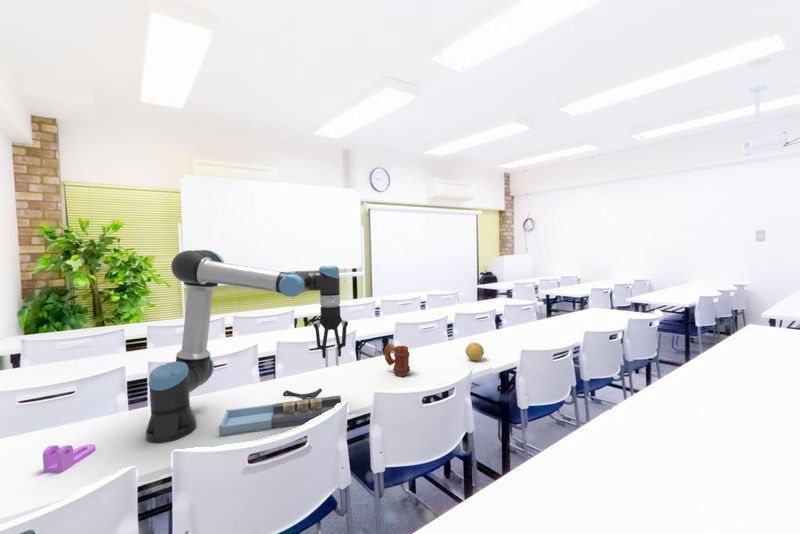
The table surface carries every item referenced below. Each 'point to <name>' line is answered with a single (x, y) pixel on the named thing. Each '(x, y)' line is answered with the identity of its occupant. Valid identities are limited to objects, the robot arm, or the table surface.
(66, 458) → the bracket
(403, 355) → the mug
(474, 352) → the stress ball
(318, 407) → the wooden cube
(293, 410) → the wooden cube
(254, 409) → the tray
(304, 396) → the bracket
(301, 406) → the wooden cube
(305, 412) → the slot bed
